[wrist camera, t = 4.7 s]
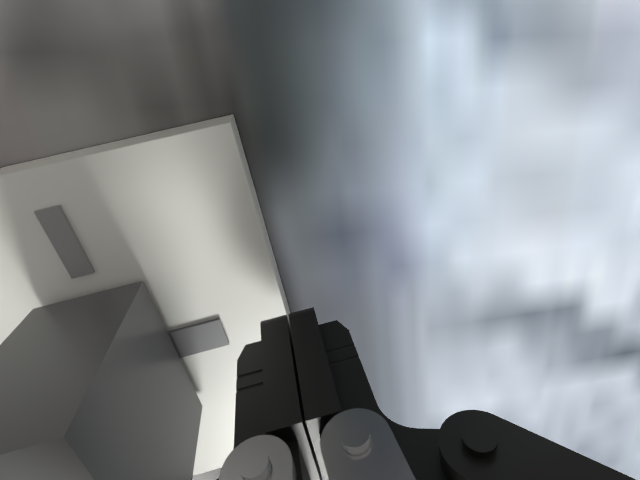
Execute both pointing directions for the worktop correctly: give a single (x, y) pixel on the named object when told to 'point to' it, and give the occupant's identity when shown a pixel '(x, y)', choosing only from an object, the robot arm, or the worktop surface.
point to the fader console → (151, 249)
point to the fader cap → (96, 393)
